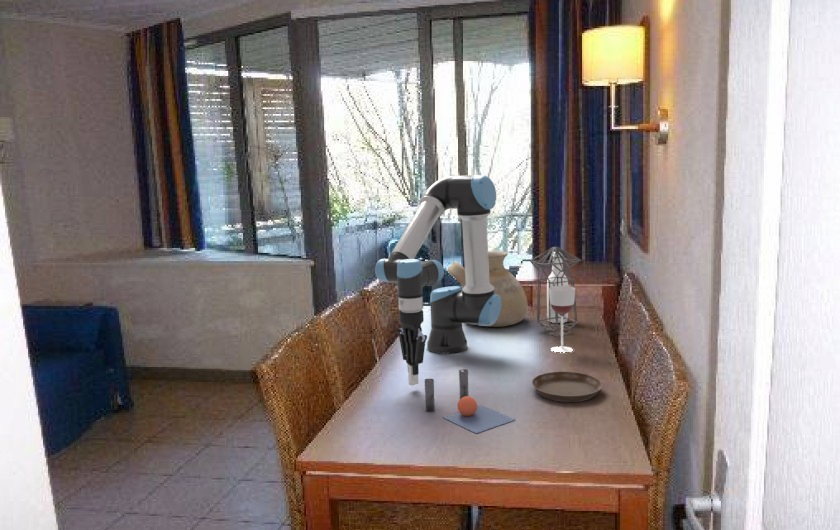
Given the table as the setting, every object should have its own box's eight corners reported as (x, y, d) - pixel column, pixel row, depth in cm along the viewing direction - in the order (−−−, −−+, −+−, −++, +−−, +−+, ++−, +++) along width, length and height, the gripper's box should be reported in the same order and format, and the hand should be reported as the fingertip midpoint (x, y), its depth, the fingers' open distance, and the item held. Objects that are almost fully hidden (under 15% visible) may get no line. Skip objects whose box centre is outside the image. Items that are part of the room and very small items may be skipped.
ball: (467, 417, 182) (455, 418, 186) (482, 413, 185) (470, 414, 190) (463, 397, 183) (451, 398, 187) (479, 393, 186) (467, 395, 190)
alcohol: (546, 318, 292) (546, 250, 287) (567, 318, 291) (567, 250, 286) (547, 323, 283) (547, 253, 279) (568, 323, 282) (568, 253, 277)
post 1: (423, 410, 192) (422, 379, 190) (431, 407, 193) (430, 377, 192) (429, 412, 190) (428, 382, 188) (436, 410, 191) (435, 380, 190)
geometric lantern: (552, 340, 259) (549, 250, 254) (530, 332, 273) (527, 247, 268) (585, 334, 265) (584, 246, 260) (562, 326, 279) (560, 243, 274)
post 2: (458, 399, 199) (457, 370, 197) (464, 397, 200) (464, 368, 199) (463, 402, 197) (462, 372, 195) (470, 400, 198) (469, 370, 197)
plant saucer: (598, 408, 189) (598, 397, 189) (525, 401, 197) (525, 390, 196) (604, 384, 208) (605, 374, 208) (538, 379, 216) (538, 369, 215)
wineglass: (576, 346, 249) (576, 285, 245) (573, 354, 240) (573, 291, 236) (551, 345, 252) (551, 285, 248) (547, 352, 243) (547, 290, 239)
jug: (532, 329, 276) (532, 257, 271) (450, 331, 276) (448, 259, 271) (523, 313, 304) (522, 247, 299) (448, 315, 305) (446, 250, 300)
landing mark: (443, 418, 185) (443, 417, 185) (481, 405, 193) (481, 405, 193) (476, 433, 174) (476, 433, 174) (515, 420, 182) (515, 419, 182)
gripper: (389, 308, 208) (392, 381, 211) (413, 315, 197) (415, 392, 201) (408, 304, 212) (411, 376, 216) (433, 311, 201) (435, 386, 205)
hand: (413, 383), depth 208 cm, fingers closed
